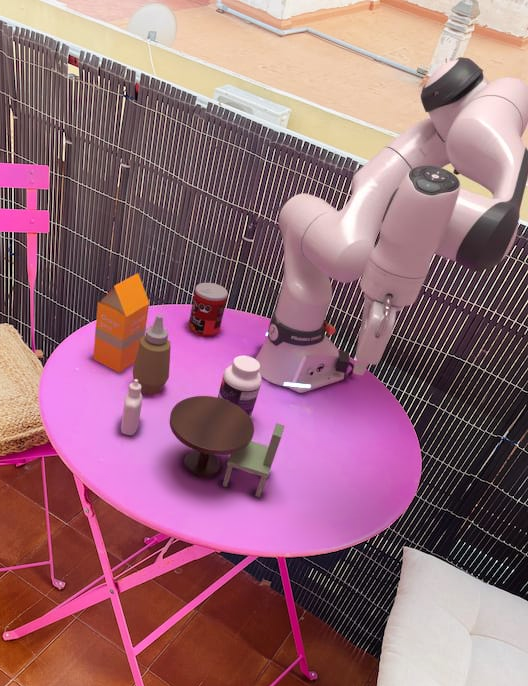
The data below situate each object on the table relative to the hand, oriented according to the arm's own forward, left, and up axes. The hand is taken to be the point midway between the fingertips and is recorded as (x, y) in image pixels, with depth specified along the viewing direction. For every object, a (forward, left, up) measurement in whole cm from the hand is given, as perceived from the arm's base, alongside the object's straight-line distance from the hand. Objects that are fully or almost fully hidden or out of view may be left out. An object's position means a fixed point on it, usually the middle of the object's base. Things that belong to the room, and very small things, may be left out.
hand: (360, 357), depth 114 cm
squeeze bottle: (+19, -38, -32) cm, 53 cm away
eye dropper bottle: (+28, -26, -32) cm, 50 cm away
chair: (+11, -6, -31) cm, 34 cm away
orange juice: (+22, -50, -32) cm, 63 cm away
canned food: (-4, -58, -32) cm, 66 cm away
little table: (+18, -12, -31) cm, 38 cm away
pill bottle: (+5, -24, -32) cm, 40 cm away
